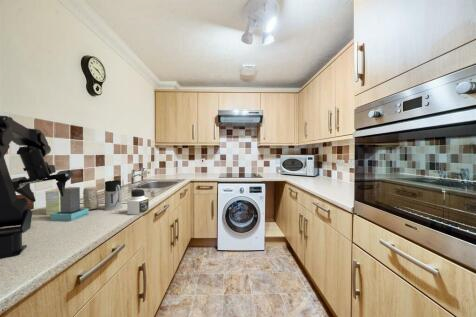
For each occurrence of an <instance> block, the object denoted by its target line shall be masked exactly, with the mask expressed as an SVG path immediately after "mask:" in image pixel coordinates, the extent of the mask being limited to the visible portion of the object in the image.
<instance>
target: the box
mask: <svg viewBox="0 0 476 317" xmlns="http://www.w3.org/2000/svg"><path fill="white" fill-rule="evenodd" d="M56 212H60V192H59V189H58V187H57V188H53V189H50V190H46V191H45V216H46V215H50V216H51V214H53V213H56Z"/></svg>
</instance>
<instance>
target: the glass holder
mask: <svg viewBox="0 0 476 317" xmlns="http://www.w3.org/2000/svg"><path fill="white" fill-rule="evenodd" d="M121 181H122V180H115V179H114V180H108V181H104V208H103V210H104V211H116V210H120V209H122V208H123V206H122V182H121Z"/></svg>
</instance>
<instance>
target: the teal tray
mask: <svg viewBox="0 0 476 317" xmlns="http://www.w3.org/2000/svg"><path fill="white" fill-rule="evenodd" d="M88 215H89V210H88V209H84V208H80V211H78V212H75V213H73V214H60V212H56V213H53V214H50V221H51V222H73V221H75V220H78V219H81V218H83V217H87V216H88Z"/></svg>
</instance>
